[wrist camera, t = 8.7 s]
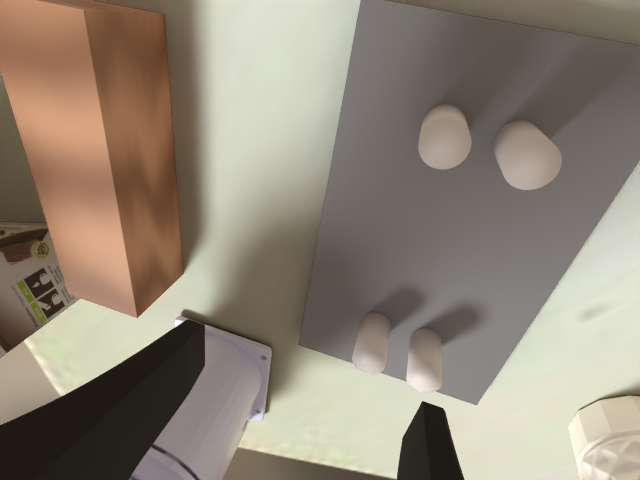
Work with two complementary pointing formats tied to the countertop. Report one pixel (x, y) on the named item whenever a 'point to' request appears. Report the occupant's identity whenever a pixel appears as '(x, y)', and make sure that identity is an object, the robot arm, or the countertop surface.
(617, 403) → the white cup
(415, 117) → the peg stand
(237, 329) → the countertop surface
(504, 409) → the countertop surface
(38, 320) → the coffee box
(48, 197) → the shelf block
